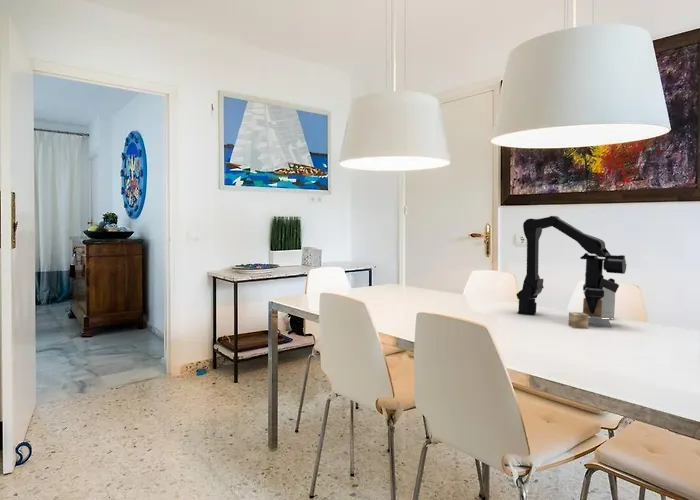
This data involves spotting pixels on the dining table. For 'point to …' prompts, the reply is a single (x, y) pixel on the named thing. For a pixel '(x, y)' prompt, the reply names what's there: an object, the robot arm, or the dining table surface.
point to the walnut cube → (597, 311)
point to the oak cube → (578, 320)
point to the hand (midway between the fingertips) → (591, 312)
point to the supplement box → (608, 304)
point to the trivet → (598, 322)
